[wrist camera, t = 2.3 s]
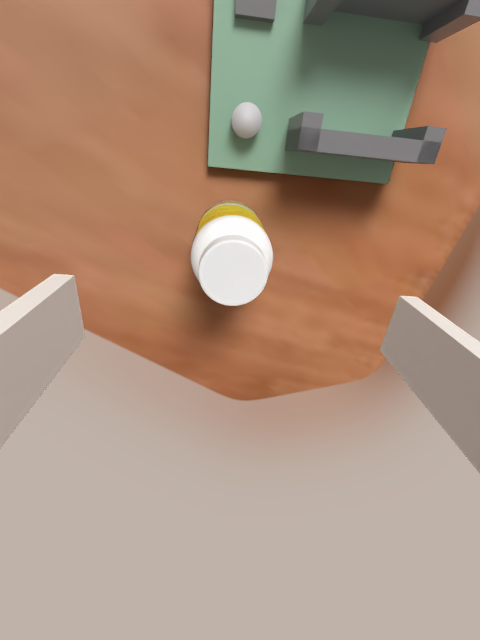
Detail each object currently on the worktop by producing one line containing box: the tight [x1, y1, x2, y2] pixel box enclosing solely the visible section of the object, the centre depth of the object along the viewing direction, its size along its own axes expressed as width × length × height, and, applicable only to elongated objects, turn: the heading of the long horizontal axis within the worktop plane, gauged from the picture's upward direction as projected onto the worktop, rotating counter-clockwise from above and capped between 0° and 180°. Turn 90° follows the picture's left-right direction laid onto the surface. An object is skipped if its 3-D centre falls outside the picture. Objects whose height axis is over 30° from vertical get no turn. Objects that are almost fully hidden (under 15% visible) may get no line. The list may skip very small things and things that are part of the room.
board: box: [208, 0, 430, 184], centre depth 20 cm, size 14×12×2 cm
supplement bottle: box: [191, 201, 273, 306], centre depth 21 cm, size 5×5×10 cm
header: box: [285, 0, 480, 164], centre depth 19 cm, size 9×10×4 cm
